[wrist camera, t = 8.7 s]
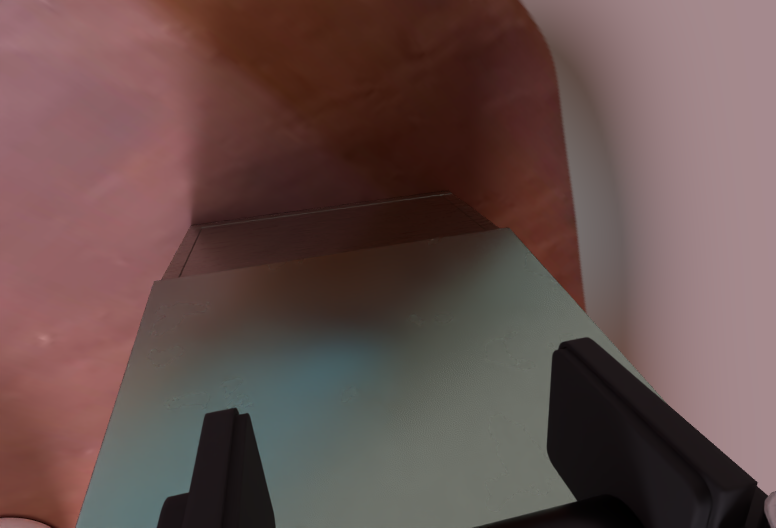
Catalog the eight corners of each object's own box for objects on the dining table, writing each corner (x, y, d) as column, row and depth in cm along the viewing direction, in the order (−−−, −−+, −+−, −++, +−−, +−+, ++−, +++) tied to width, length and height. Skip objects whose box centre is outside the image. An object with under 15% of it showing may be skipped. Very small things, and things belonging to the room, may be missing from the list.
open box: (455, 401, 39) (500, 486, 31) (246, 445, 37) (237, 550, 29) (448, 190, 32) (504, 230, 24) (190, 225, 30) (158, 283, 22)
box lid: (917, 720, 9) (1117, 607, 6) (-77, 1097, 6) (-423, 1167, 4) (507, 240, 24) (517, 147, 22) (158, 295, 22) (121, 197, 19)
